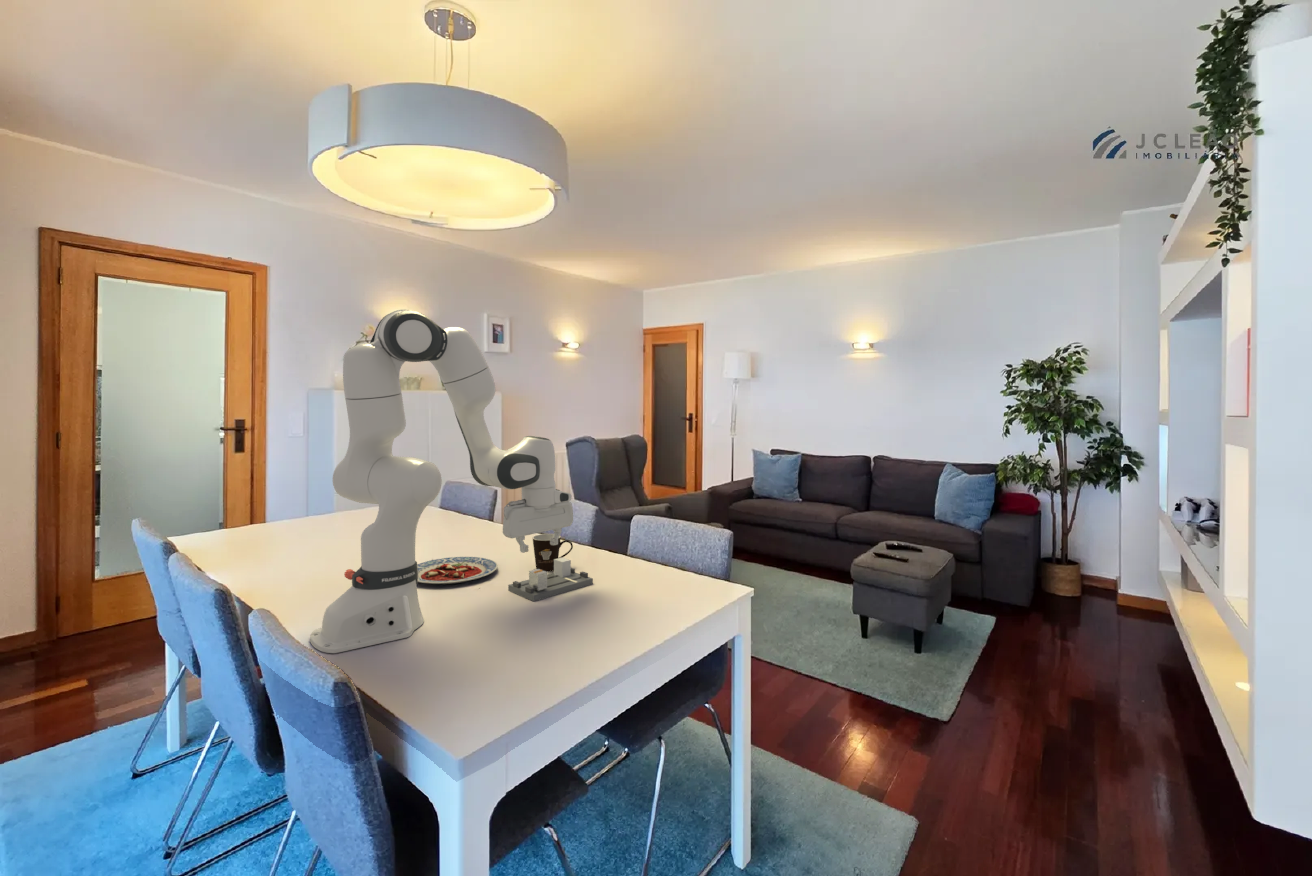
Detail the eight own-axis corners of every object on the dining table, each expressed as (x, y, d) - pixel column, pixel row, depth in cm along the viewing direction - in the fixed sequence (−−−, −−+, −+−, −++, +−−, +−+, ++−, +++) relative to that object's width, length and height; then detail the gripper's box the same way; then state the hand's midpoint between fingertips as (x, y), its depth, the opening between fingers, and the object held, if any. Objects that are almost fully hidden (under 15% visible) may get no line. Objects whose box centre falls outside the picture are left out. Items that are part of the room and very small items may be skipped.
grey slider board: (533, 601, 141) (533, 578, 141) (508, 590, 150) (508, 569, 149) (592, 583, 156) (592, 563, 156) (566, 574, 164) (566, 555, 164)
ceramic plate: (469, 593, 148) (468, 582, 148) (385, 586, 153) (385, 575, 153) (512, 566, 173) (512, 557, 173) (439, 561, 178) (439, 551, 178)
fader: (537, 590, 143) (537, 573, 143) (529, 587, 146) (529, 570, 146) (547, 588, 146) (547, 571, 145) (538, 584, 148) (538, 568, 148)
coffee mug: (527, 571, 167) (527, 539, 167) (541, 563, 175) (541, 533, 175) (561, 575, 164) (561, 542, 163) (574, 567, 172) (574, 535, 172)
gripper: (510, 504, 135) (511, 559, 136) (576, 493, 150) (576, 543, 151) (497, 500, 139) (498, 554, 140) (562, 490, 154) (562, 539, 155)
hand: (539, 548), depth 146 cm, fingers open, 8 cm apart
